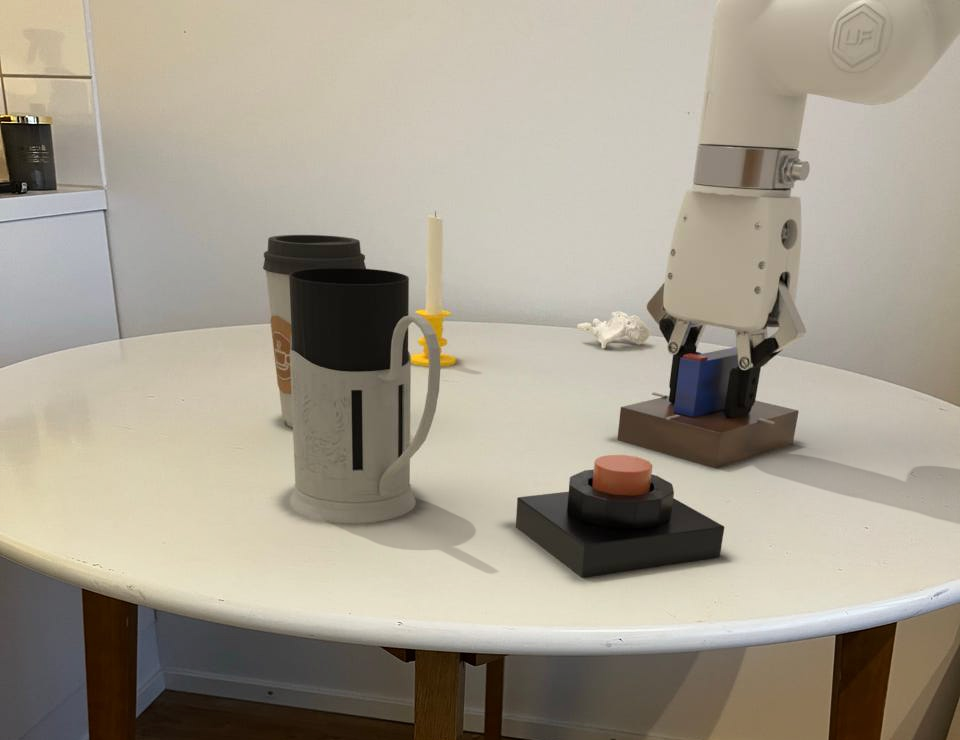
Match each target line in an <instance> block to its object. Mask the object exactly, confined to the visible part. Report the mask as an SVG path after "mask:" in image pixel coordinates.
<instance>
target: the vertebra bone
mask: <svg viewBox="0 0 960 740" xmlns="http://www.w3.org/2000/svg"><path fill="white" fill-rule="evenodd" d="M610 315H611V318H610V319H609V320H608V321H607V320H604V321H601V320H600V319H598V318H597V317H595V318H594V319H593V320H592V324H593V325H594V326H592V324H591V323H590V322H583V323H582V322H581V323H578V324H577V326H576V327H577V330H578V331H579V332H580V331H581V332H582V331H583V332H585V333H587V334H591V335H592V336H594V337H595V338H597V342H598V343H600V344H601V349H603V350H605V349H606V347H607V344H608V343H612V342H614V340H616V339H618V338H624V337H627V338H628V340H633V341H634V342H635V344H636V345H642V344H643V343H645V342H646V341H647V340H648V339H649V338H650V337H651V334H652V332H651V329H650V328H649V327H648V326H647V325H646V323H645V322H644V321H643V320H642V319H641V318H640V317H639V316H637V315H631V316H629V315H628V313H625V312H623V311H620V310H616V311H613V312H611V314H610Z"/></svg>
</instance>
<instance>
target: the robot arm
mask: <svg viewBox="0 0 960 740" xmlns="http://www.w3.org/2000/svg"><path fill="white" fill-rule="evenodd" d="M712 22H713V23H712V30H711V36H710V37H711V38H710V45H709V53H708V60H707V69H706V76H705V84H704V92H703V101H702V107H701V108H702V109H701V117H700V124H699V125H700V126H699V134H698V141H697V143H698V144H697V145H696V146H697V148H696V154H695V163H694V171H693V179H692V187H691V188H689V189H686V190H685V193H684V196H683V198H682V200H681V204H680V208H679V211H678V215H677V217H676V221H675V225H674V229H673V234H672V237H671V238H672V239H671V243H670V248H669V253H668V259H667V265H666V270H665V276H664V282H663V284H661V286H660V287H659V288H658V290H657V291H656V292H655V294H654V295H652V297H651V298H650V299H649V301H648V302H647V303H646V310H647V312H648V314H650V316H651V317H652V319H653V320H654V321H655V323H656V324H657V325H658V326H659V330H660V333H661V334H662V336H663V338H664V339H665V341H666V342H667V349H666V350H667V352H668V353H669V354H670V355H672V361H671V368H670V376H669V385H668V387H669V395H668V396H669V402H670V403H674V404H675V396H676V389H677V381H678V373H679V365H680V358H682V357H683V355H685V354H690V353H691V354H696V355H698V354H702V352H700V351H697V350H698V347H699V344H700V341H701V338H702V336H703V333H704V331H705V328H706V325H707V326H713V327H717V328H723V329H728V330H734V331H735V344H736V346H735V347H736V348H737V358H738V367H737V368H732V370H731V371H730V376H729V382H728V389H727V395H726V402H725V408H724V414H725V416H726V417H729V418H734V417H738V416H742V415H745V414H749V413H750V411H751V408H752V406H753V405H754V403H755V400H756V401H757V393H758V388H759V387H758V386H759V382H760V381H759V380H760V376H761V368H762V367H765V366H767V365H768V364H769V362H770V361H771V360H772V359H773V358H775V357H776V356H777V355H778V354H779V353H781V352H782V351H783V350H784V349H786V348H788V347H790V346H791V345H792V344H794V343H796V342H797V341H799V340H800V339H802V338H804V337H805V335H806V333H807V330H806V327H805V324H804V322H803V319H802V317H801V316H800V315H801V314H800V313H799V311H798V309H797V306H796V304H795V303H796V297H797V291H798V282H799V275H800V264H801V263H800V262H801V250H802V203H801V197H800V196H794V195H793V196H792V195H791V194H792V189H794V187H795V183H796V182H797V181H804V182H805V180H806V179H807V178H808V177H809V174H810V170H811V169H810V166H811V165H810V163H809V161H806V160H801V159H800V158H799V157H800V150H798V149H799V146H800V142H801V141H800V140H801V136H802V135H801V134H802V128H803V121H804V117H805V111H806V105H807V98H808V95H814V96H820V97H825V98H829V99H835V100H839V101H844V102H847V103H853V104H858V105H859V104H860V105H863V106H864V105H866V106H881V105H885V104H889V103H892V102H894V101H897V100H899V99H900V98H902V97H904V96H905V95H908V94H909V92H911V91H912V90H913V89H915V88H916V87H917V86H918V85H919V84H920V83H921V82H922V81H923V80H924V79H925V77H926V76H927V75H928V74H930V72H931V70H932V69H933V68H934V67H935V65H937V63H938V62H939V61H940V60H941V58H942V57H943V56H944V54H945V53H946V52H947V51H948V49H949V48H950V47H951V46H952V45H953V43H954V42H955V41H956V39H957V38H958V37H959V35H960V0H717V2H716V5H715V9H714V15H713V21H712ZM768 328H778V330H777V331H776V332H775V333H773V334H772V335H771V336H769V337H768Z"/></svg>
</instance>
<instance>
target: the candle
mask: <svg viewBox="0 0 960 740" xmlns="http://www.w3.org/2000/svg"><path fill="white" fill-rule="evenodd" d="M427 220H428V221H427V238H426V239H427V241H426V281H425V283H426V284H425V309H419V310H416V311H415V315H418V316H421V317H423V318H425V319H426V320H427V321H428V322H429V323H430V324H431V326H432V328H433V330H434V331H435V333H436V336H437V340H438V344H439V348H440V365H441V368H442V367H449V366H453V365H455V364H456V363H457V358H456V357H455V356H454V355H451V354H446V353H442V352H443V349H442V347H445V346H447V345H448V339H446V338H444V337H443V333H444V326H443V323H444V318H445V317H448V316H451V315H452V312H451V311H449V310H443V309H442V307H443V306H442V301H443V300H442V298H443V297H442V296H443V295H442V294H443V240H444V239H443V237H444V236H443V233H444V232H443V218H442V217H438V216H437V211H436V210H435V211H434V215H432V214H431V215H430V214H429V215H428V217H427ZM417 343H418V345H420V346H422V347H423V350H422V351H423V352H420V353H414V354H410V356H411V365H415V366H421V367H429V357H428V347H427V343H426V339H425V336H424V335H423V336H422V337H420V338H418V340H417Z"/></svg>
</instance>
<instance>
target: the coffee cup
mask: <svg viewBox="0 0 960 740" xmlns="http://www.w3.org/2000/svg"><path fill="white" fill-rule="evenodd" d="M361 249H362V248H361V241H360V240H359V239H357V238H353V237H347V236H337V235H325V234H324V235H323V234H284V235H274V236H270V237H268V238H267V250H265V251H264V252H263V258H264V261H263V266H262V270H264V271H265V277H266V285H267V294H268V303H269V313H270V319H269V320H270V321H269V322H270V329H271V338H272V347H273V356H274V365H275V372H276V374H275V375H276V381H277V387H278V391H279V399H280V400H279V401H280V409H281V417H282V419H283V420H284V421H285V424H286V425H287V426H288V427H290V428H292V429H293V418H292V395H291V372H290V337H291V333H292V331H291V307H290V284H289V274H290V273H292V272H294V271H299V270H305V269H315V268H362V269H367V267H366V263H365V262H366V261H365V260H366V255H365V254H363V253H362V250H361Z"/></svg>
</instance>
